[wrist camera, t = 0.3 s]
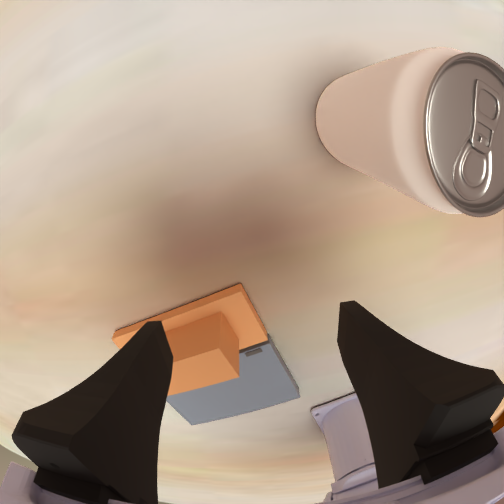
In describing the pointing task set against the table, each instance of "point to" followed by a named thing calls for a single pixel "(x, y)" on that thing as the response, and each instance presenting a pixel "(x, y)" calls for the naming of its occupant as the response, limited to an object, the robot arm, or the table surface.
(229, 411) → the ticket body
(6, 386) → the table surface
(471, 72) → the can
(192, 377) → the stub
